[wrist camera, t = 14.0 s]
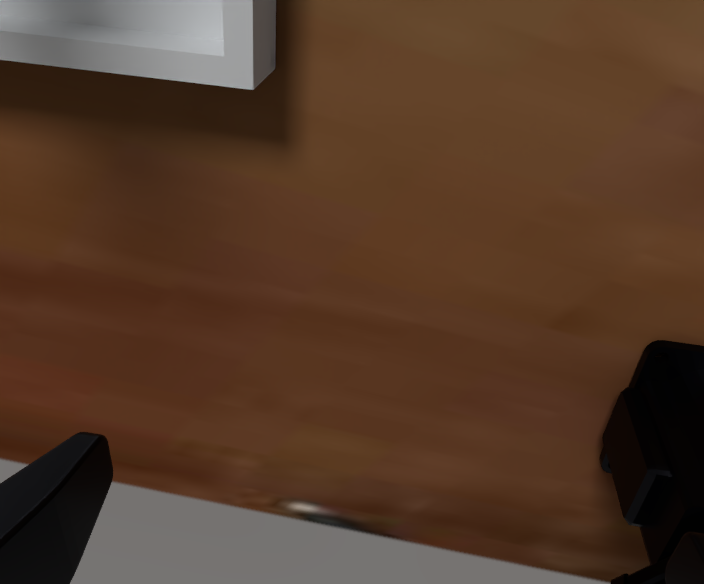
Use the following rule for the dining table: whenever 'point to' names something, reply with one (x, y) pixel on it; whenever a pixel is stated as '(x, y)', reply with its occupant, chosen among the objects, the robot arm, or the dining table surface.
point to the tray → (146, 38)
